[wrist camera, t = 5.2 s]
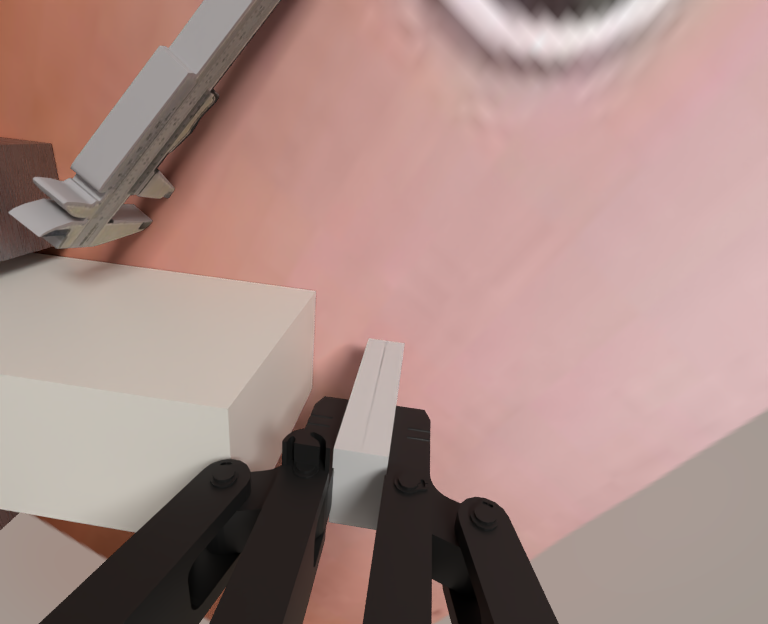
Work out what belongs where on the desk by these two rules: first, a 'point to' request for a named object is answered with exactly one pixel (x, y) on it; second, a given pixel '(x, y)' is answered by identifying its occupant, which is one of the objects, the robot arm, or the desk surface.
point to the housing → (14, 188)
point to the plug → (140, 383)
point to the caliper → (144, 131)
